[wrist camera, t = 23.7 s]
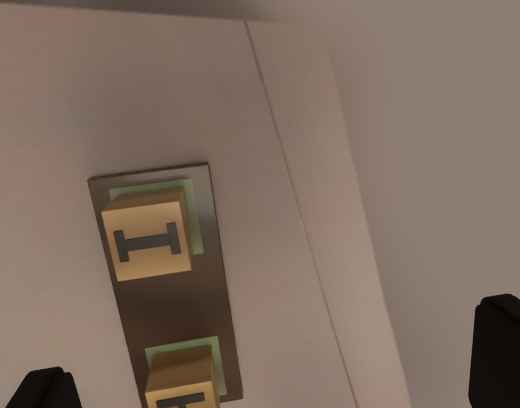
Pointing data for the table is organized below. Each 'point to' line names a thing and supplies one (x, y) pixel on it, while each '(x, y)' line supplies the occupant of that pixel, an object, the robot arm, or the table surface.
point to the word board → (175, 282)
